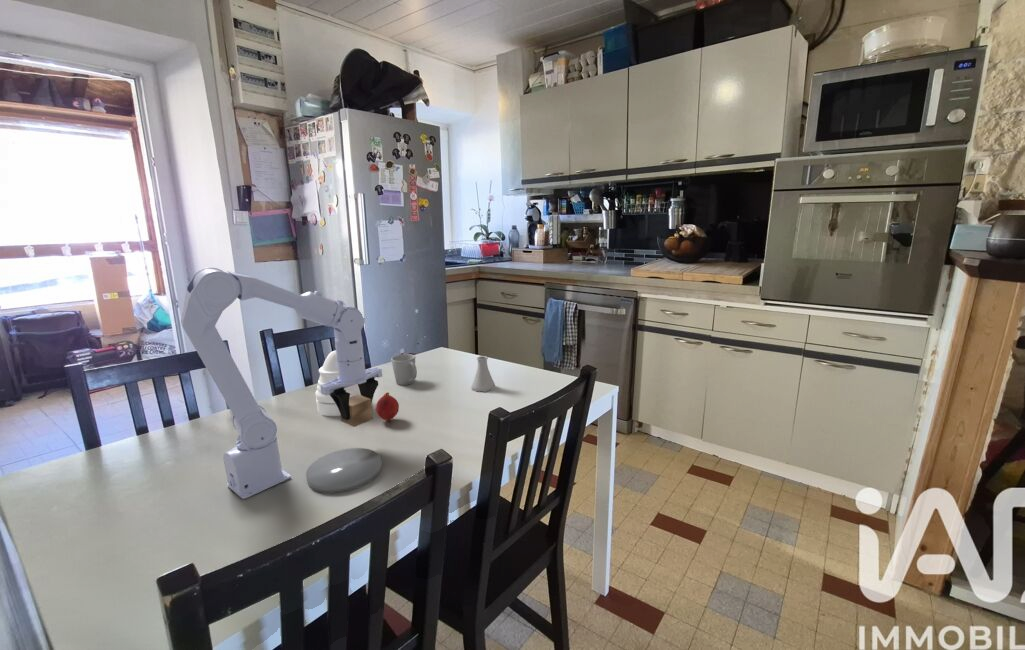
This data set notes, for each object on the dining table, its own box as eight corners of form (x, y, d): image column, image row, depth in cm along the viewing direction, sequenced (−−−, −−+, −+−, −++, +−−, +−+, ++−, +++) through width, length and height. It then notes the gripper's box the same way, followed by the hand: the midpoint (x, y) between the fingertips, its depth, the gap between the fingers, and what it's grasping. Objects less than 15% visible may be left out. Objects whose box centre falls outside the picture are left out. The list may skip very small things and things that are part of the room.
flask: (481, 382, 148) (480, 352, 145) (499, 386, 144) (498, 356, 141) (466, 389, 142) (465, 358, 140) (485, 394, 138) (483, 362, 136)
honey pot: (364, 395, 139) (358, 338, 135) (365, 412, 128) (358, 349, 123) (319, 401, 136) (311, 342, 131) (315, 419, 124) (307, 355, 119)
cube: (354, 426, 103) (351, 406, 102) (341, 421, 106) (339, 401, 105) (372, 419, 107) (370, 398, 106) (360, 413, 110) (358, 394, 109)
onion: (393, 426, 118) (391, 397, 116) (373, 425, 119) (370, 396, 118) (403, 416, 124) (401, 389, 122) (383, 415, 125) (381, 387, 123)
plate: (332, 502, 88) (331, 495, 87) (293, 476, 97) (292, 469, 96) (396, 467, 99) (395, 461, 99) (355, 447, 108) (355, 441, 108)
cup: (408, 376, 154) (406, 352, 152) (426, 383, 148) (424, 358, 146) (388, 383, 149) (386, 358, 147) (406, 390, 142) (404, 364, 140)
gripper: (330, 370, 95) (337, 430, 98) (388, 353, 106) (393, 407, 109) (312, 364, 99) (320, 422, 102) (369, 348, 110) (374, 401, 114)
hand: (356, 414), depth 106 cm, fingers closed on cube, 5 cm apart
